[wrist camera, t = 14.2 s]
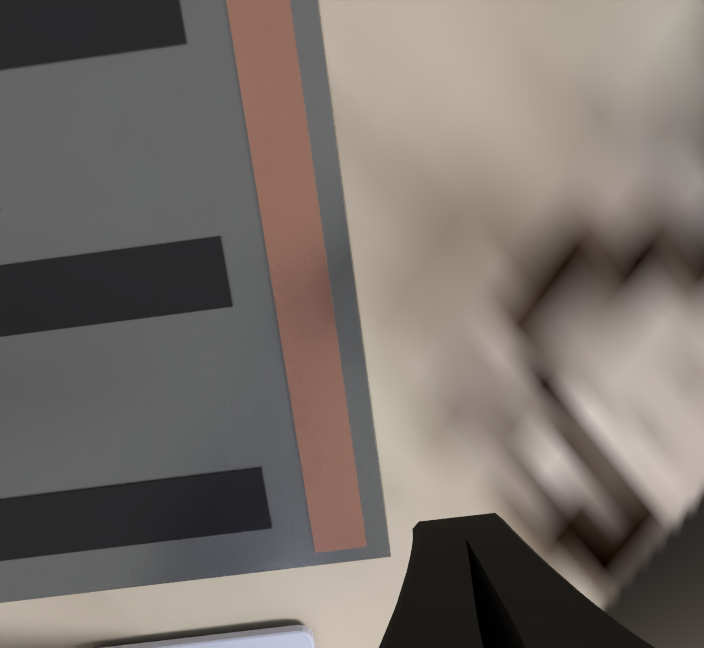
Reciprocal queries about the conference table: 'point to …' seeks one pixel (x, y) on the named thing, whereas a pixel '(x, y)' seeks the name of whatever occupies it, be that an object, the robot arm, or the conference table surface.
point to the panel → (175, 300)
